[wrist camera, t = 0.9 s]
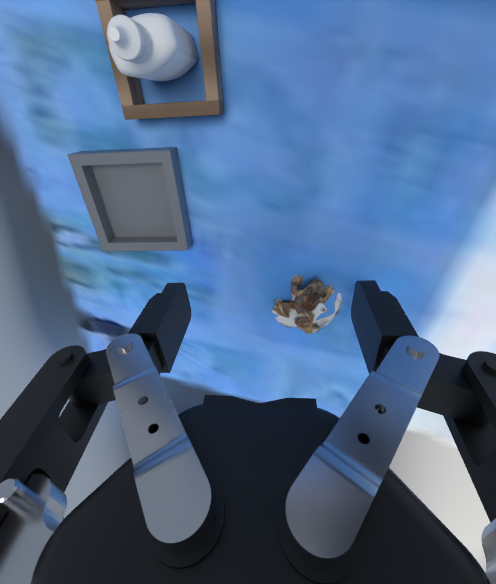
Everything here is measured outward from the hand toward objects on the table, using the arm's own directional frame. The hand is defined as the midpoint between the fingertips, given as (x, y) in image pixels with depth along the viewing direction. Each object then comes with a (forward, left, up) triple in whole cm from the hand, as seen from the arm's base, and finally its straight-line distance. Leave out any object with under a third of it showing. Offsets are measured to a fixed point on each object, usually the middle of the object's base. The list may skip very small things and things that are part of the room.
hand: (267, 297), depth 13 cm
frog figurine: (+18, +5, -26) cm, 32 cm away
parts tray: (+2, -17, -25) cm, 30 cm away
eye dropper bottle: (-12, -10, -25) cm, 30 cm away
